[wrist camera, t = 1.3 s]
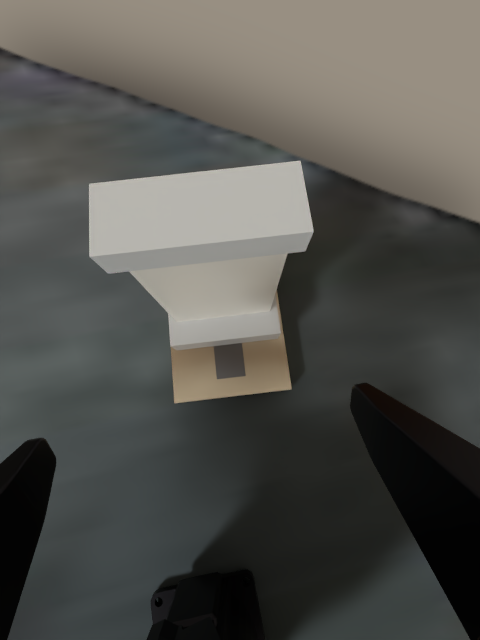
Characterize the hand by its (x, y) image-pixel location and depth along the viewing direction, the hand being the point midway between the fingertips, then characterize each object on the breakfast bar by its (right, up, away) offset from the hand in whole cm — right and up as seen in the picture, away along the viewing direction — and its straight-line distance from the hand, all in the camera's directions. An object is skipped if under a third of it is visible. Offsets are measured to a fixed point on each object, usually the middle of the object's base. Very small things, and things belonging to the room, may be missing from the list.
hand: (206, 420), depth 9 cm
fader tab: (0, +4, +13) cm, 14 cm away
